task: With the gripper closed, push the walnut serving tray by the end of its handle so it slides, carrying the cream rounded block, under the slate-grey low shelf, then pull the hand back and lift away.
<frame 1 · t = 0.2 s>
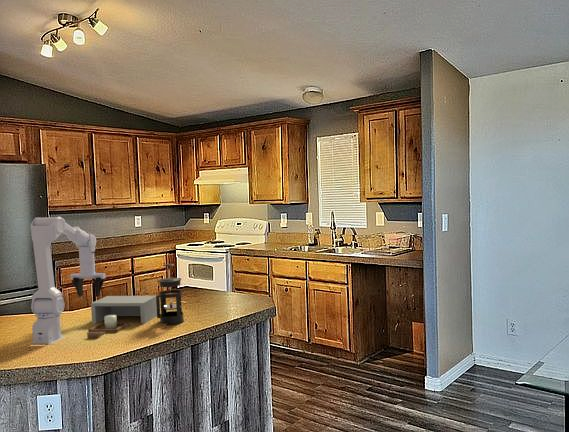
hand: (89, 296, 212), 10 cm above the countertop, tool pointing down, fingers open, 7 cm apart
tray: (109, 330, 196), on the countertop, touching cream rounded block
shelf: (126, 320, 210), on the countertop
french press: (171, 322, 204), on the countertop
cream rounded block: (111, 327, 197), point 1 cm above the countertop, touching tray
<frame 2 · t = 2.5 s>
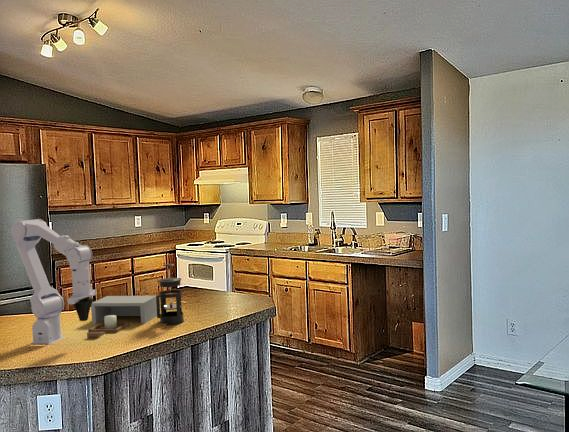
hand: (83, 320, 178), 8 cm above the countertop, tool pointing down, fingers closed
nothing on the countertop moved.
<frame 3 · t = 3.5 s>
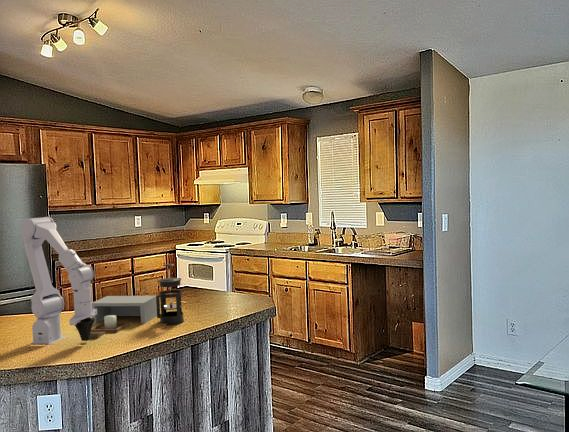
hand: (85, 340, 179), 1 cm above the countertop, tool pointing down, fingers closed
nothing on the countertop moved.
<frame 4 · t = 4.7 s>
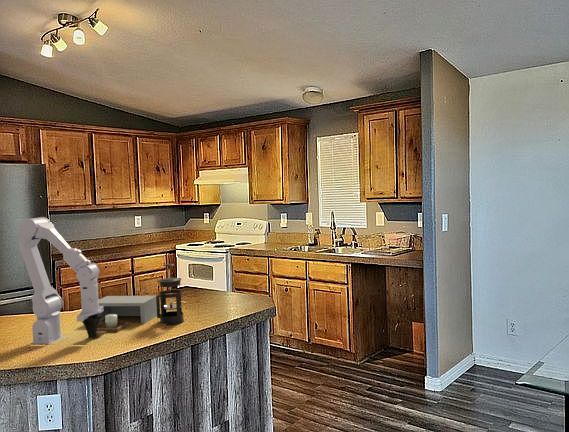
hand: (92, 336, 184), 1 cm above the countertop, tool pointing down, fingers closed
tray: (110, 330, 196), on the countertop, touching gripper, cream rounded block
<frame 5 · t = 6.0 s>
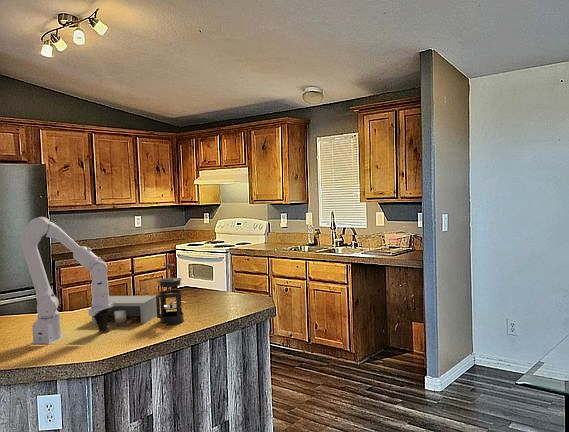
hand: (102, 330, 191), 1 cm above the countertop, tool pointing down, fingers closed
tray: (119, 324, 204), on the countertop, touching gripper, cream rounded block
cream rounded block: (120, 321, 205), point 1 cm above the countertop, touching tray
everything else where it was.
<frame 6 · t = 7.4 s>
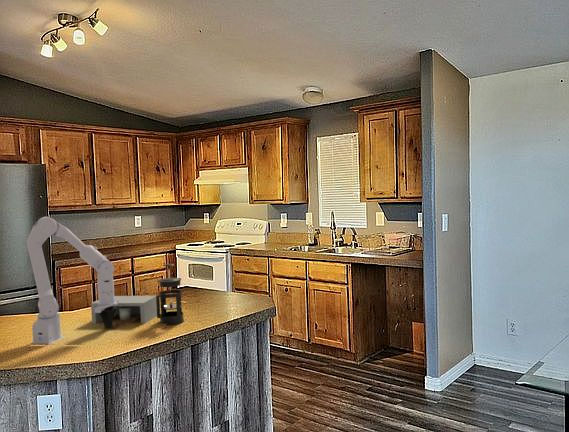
hand: (108, 327, 195), 1 cm above the countertop, tool pointing down, fingers closed
tray: (124, 321, 208), on the countertop, touching gripper, cream rounded block
cream rounded block: (125, 319, 209), point 1 cm above the countertop, touching tray
everything else where it was.
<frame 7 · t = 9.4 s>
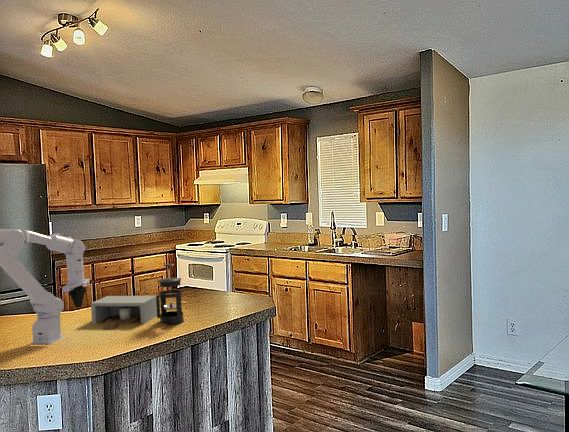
hand: (78, 306, 196), 9 cm above the countertop, tool pointing down, fingers closed
tray: (123, 322, 208), on the countertop, touching cream rounded block
everything else where it was.
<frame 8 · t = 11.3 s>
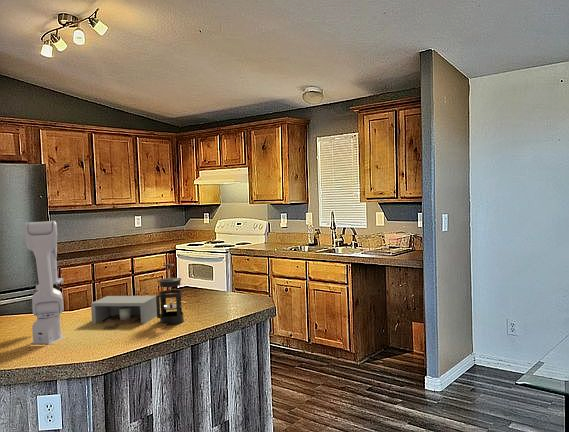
hand: (51, 305, 200), 9 cm above the countertop, tool pointing down, fingers closed
nothing on the countertop moved.
at the end: tray inside the target area (2.0 cm from its centre), on the countertop; cream rounded block 1.5 cm from the tray (horizontally); cream rounded block tilted 1° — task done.
